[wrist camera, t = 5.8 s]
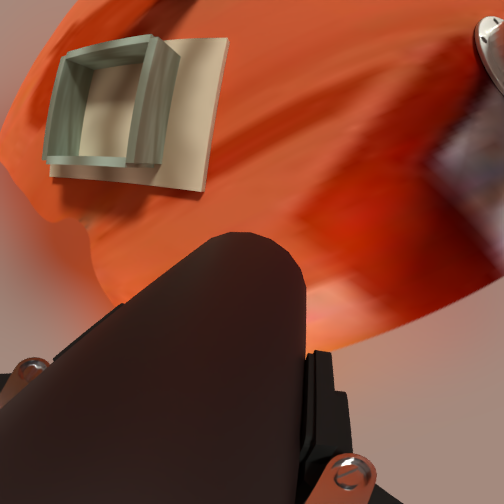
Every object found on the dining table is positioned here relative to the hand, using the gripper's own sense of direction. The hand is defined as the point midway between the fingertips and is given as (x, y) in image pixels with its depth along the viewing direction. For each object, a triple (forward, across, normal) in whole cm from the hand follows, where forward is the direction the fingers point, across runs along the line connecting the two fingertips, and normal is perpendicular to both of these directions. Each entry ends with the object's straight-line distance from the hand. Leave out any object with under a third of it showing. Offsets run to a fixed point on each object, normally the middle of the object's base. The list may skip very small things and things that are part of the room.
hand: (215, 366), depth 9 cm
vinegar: (+7, 0, 0) cm, 7 cm away
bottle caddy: (+18, +17, -11) cm, 27 cm away
